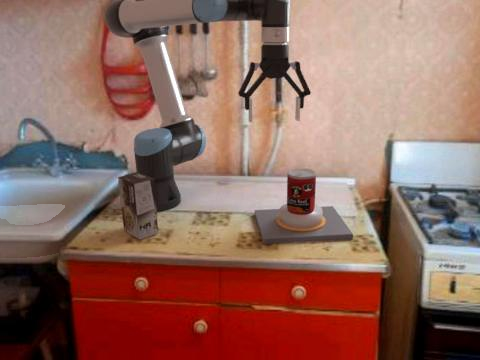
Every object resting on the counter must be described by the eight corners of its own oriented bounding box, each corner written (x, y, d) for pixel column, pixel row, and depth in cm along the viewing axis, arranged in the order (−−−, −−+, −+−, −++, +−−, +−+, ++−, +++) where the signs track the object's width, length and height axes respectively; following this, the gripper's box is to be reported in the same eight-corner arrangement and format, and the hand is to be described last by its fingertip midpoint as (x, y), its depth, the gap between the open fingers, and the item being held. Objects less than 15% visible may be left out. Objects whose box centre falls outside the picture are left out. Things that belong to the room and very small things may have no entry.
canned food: (282, 212, 134) (283, 174, 130) (293, 203, 140) (294, 166, 137) (308, 217, 130) (309, 178, 127) (318, 207, 137) (319, 170, 133)
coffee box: (159, 233, 134) (155, 178, 129) (139, 240, 130) (133, 183, 125) (142, 223, 141) (137, 171, 135) (122, 230, 137) (117, 176, 131)
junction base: (254, 214, 145) (254, 199, 144) (332, 210, 147) (333, 195, 146) (263, 244, 126) (263, 226, 125) (352, 239, 128) (353, 221, 127)
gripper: (230, 45, 127) (231, 124, 134) (323, 43, 129) (319, 122, 136) (228, 43, 134) (229, 118, 141) (317, 42, 136) (313, 116, 143)
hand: (274, 120), depth 138 cm, fingers open, 13 cm apart
